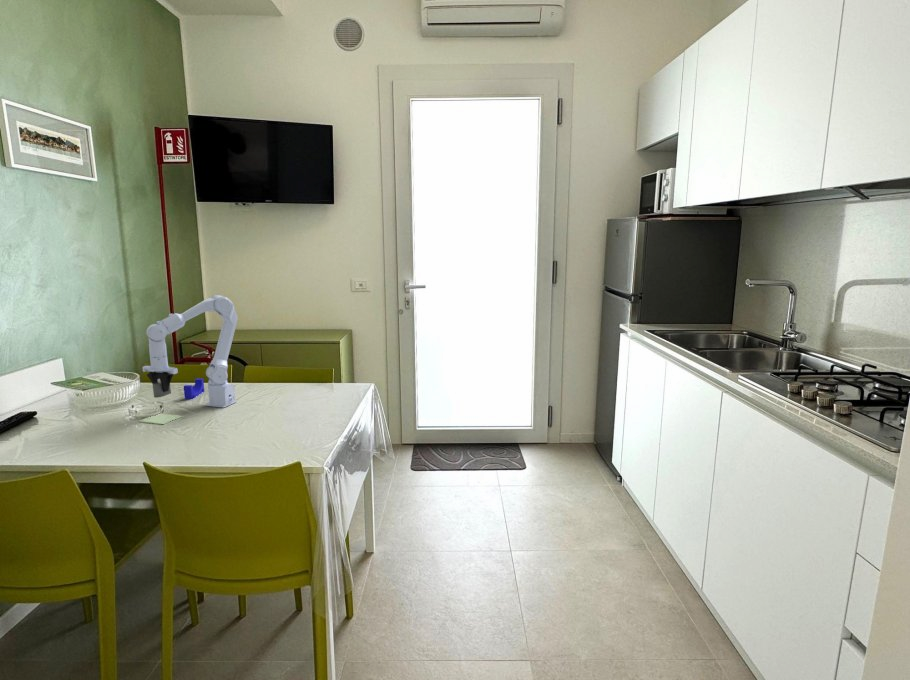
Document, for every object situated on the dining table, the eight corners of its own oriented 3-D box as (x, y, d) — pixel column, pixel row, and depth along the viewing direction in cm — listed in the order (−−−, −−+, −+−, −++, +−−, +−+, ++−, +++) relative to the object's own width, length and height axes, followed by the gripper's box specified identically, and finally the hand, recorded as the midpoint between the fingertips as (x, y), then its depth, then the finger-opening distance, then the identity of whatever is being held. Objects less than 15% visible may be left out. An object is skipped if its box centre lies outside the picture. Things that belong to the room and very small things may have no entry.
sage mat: (181, 416, 201) (181, 415, 201) (163, 424, 193) (163, 423, 193) (158, 414, 204) (157, 413, 204) (138, 421, 196) (138, 420, 196)
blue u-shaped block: (194, 391, 235) (192, 378, 234) (204, 391, 235) (203, 378, 234) (181, 400, 223) (179, 386, 222) (192, 399, 223) (190, 386, 222)
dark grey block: (172, 392, 207) (171, 376, 206) (158, 397, 200) (156, 381, 199) (166, 392, 208) (164, 376, 207) (151, 397, 201) (150, 380, 200)
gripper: (134, 357, 200) (138, 392, 202) (165, 359, 196) (169, 395, 198) (149, 353, 206) (153, 387, 209) (180, 355, 202) (183, 390, 205)
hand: (162, 390), depth 204 cm, fingers closed on dark grey block, 3 cm apart
